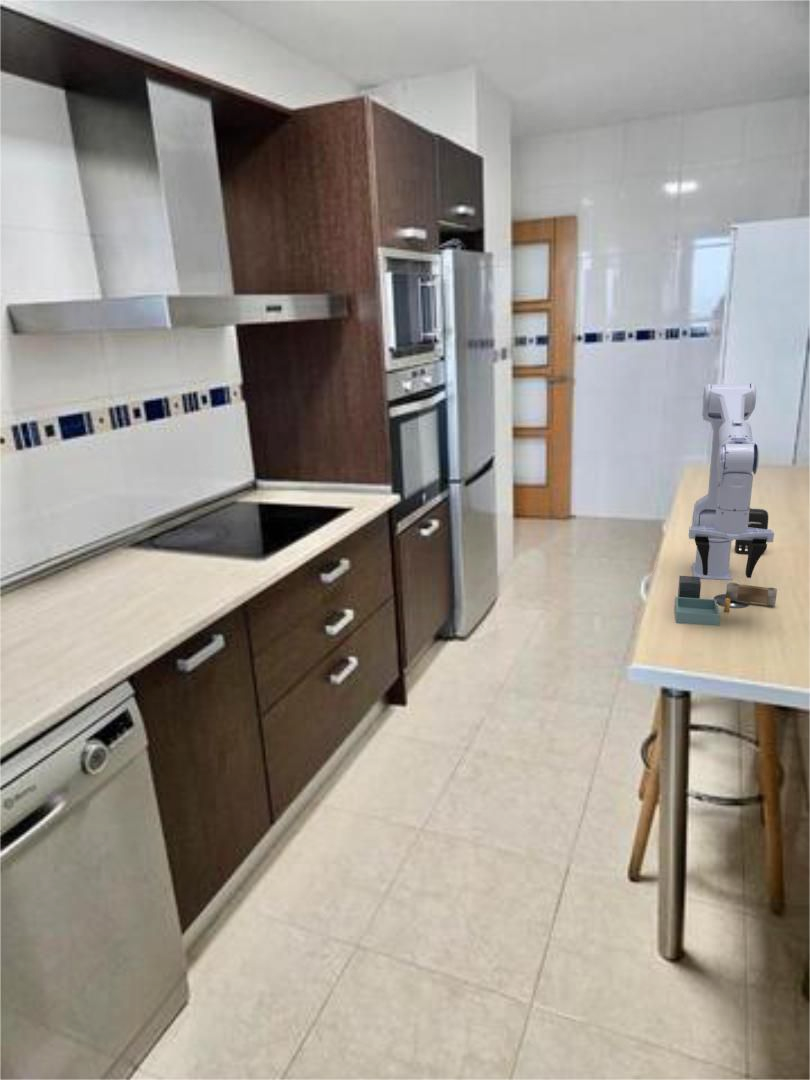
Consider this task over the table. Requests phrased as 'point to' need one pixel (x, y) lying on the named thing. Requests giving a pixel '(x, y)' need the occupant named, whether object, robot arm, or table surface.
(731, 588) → the crank
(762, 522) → the battery charger
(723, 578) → the robot arm
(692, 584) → the block
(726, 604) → the crank base
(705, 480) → the table surface
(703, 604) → the tray
